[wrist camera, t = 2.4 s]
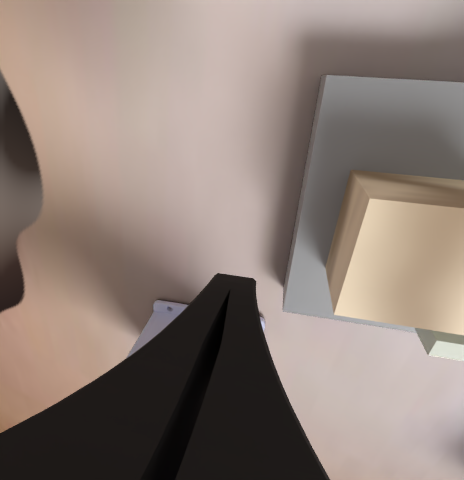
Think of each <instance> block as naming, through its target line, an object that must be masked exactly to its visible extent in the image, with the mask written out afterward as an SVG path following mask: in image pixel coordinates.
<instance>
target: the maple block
mask: <svg viewBox="0 0 464 480" xmlns="http://www.w3.org/2000/svg"><path fill="white" fill-rule="evenodd" d="M325 269H326V275H327V280H328V285H329V291H330V296H331V302H332V307H333V313H334V315H338V316H345V317H351V318H357V319H364V320H370V321H376V322H383V323H389V324H395V325H402V326H408V327H414V328H421V329H427V330H433V331H439V332H446V333H452V334H458V335H464V180H455V179H445V178H434V177H424V176H413V175H403V174H392V173H381V172H371V171H360V170H351V171H350V174H349V178H348V182H347V186H346V190H345V194H344V198H343V201H342V205H341V209H340V213H339V217H338V221H337V225H336V228H335V232H334V236H333V240H332V244H331V248H330V252H329V255H328V259H327V263H326V267H325Z"/></svg>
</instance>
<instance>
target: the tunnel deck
mask: <svg viewBox="0 0 464 480" xmlns="http://www.w3.org/2000/svg"><path fill="white" fill-rule="evenodd" d="M351 170H360V171H371V172H381V173H392V174H403V175H413V176H424V177H434V178H445V179H455V180H464V82H448V81H430V80H412V79H393V78H375V77H357V76H338V75H321V81H320V87H319V92H318V98H317V104H316V109H315V115H314V120H313V126H312V132H311V137H310V143H309V148H308V154H307V160H306V165H305V171H304V176H303V182H302V188H301V193H300V199H299V204H298V210H297V216H296V221H295V227H294V233H293V238H292V244H291V249H290V255H289V261H288V266H287V272H286V277H285V283H284V289H283V312H289V313H295V314H301V315H307V316H313V317H320V318H326V319H332V320H338V321H345V322H351V323H357V324H363V325H370V326H376V327H382V328H388V329H395V330H401V331H407V332H413V333H417V334H418V336H419V338H420V340H421V342H422V344H423V346H424V348H425V350H426V352H427V354H428V355H429V356H434V357H440V358H446V359H452V360H458V361H464V335H458V334H452V333H446V332H439V331H433V330H427V329H421V328H414V327H408V326H402V325H395V324H389V323H383V322H376V321H370V320H364V319H357V318H351V317H345V316H338V315H334V313H333V307H332V302H331V296H330V291H329V285H328V280H327V275H326V269H325V267H326V263H327V259H328V255H329V252H330V248H331V244H332V240H333V236H334V232H335V228H336V225H337V221H338V217H339V213H340V209H341V205H342V201H343V198H344V194H345V190H346V186H347V182H348V178H349V174H350V171H351Z"/></svg>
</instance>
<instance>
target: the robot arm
mask: <svg viewBox="0 0 464 480" xmlns="http://www.w3.org/2000/svg"><path fill="white" fill-rule="evenodd" d="M170 307H171V308H170ZM153 310H154V312H153V314H152V315H151V317H150V319H149V320H148V322H147V324H146V326H145V327H144V329H143V331H142V332H141V334H140V336H139V337H138V339H137V341H136V343H135V344H134V346H133V348H132V349H131V351H130V353H129V355H128V356H127V358H126V359H125V360H124V361H122V362H121V363H119V364H118V365H117V366H115V367H114V368H112V369H111V370H109V371H108V372H106V373H105V374H103V375H102V376H100V377H99V378H97V379H96V380H94V381H93V382H91V383H89V384H88V385H86V386H84V387H83V388H81V389H79V390H78V391H76V392H74V393H73V394H71V395H69V396H68V397H66V398H64V399H63V400H61V401H60V402H58V403H56V404H54V405H53V406H51V407H49V408H47V409H46V410H44V411H42V412H40V413H38V414H36V415H34V416H32V417H30V418H28V419H27V420H25V421H23V422H21V423H19V424H17V425H15V426H13V427H11V428H9V429H8V430H6V431H4V432H2V433H0V480H330V479H329V477H328V475H327V474H326V472H325V470H324V468H323V466H322V464H321V463H320V461H319V459H318V457H317V455H316V453H315V452H314V450H313V448H312V446H311V444H310V442H309V440H308V438H307V436H306V434H305V432H304V430H303V428H302V426H301V424H300V422H299V420H298V418H297V416H296V414H295V412H294V410H293V408H292V406H291V404H290V402H289V399H288V397H287V395H286V392H285V390H284V388H283V386H282V383H281V381H280V378H279V376H278V373H277V371H276V368H275V366H274V363H273V360H272V357H271V354H270V351H269V348H268V345H267V342H266V339H265V335H264V327H265V320H264V318H262V317H260V316H259V311H258V305H257V299H256V281H255V280H254V279H253V278H247V277H240V276H233V275H227V274H220V273H218V274H216V275H215V276H214V277H213V278H212V280H211V281H210V282H209V283H208V284H207V286H206V287H205V288H204V289H203V290H202V291H201V292H200V294H199V295H198V296H197V297H196V298H195V299H194V300H193V301H192V302H191V303H190V304H189V305H186V304H180V303H174V302H168V301H161V300H157V301H155V302H154V304H153Z"/></svg>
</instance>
